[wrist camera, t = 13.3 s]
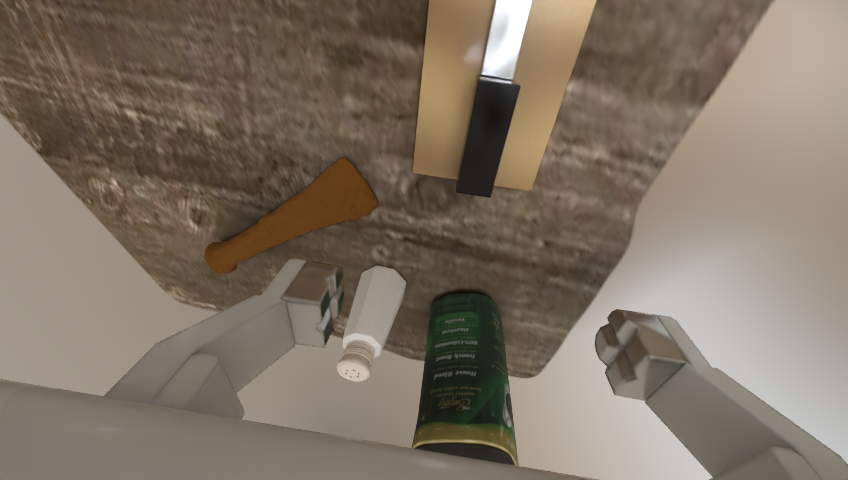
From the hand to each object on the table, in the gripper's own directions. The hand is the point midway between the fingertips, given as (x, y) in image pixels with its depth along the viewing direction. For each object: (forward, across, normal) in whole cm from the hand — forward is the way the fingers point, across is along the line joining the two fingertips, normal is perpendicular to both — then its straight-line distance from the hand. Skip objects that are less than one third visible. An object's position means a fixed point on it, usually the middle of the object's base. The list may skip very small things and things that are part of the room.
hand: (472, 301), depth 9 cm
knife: (+17, -1, -6) cm, 18 cm away
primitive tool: (+18, +16, +10) cm, 26 cm away
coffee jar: (+18, -4, +20) cm, 27 cm away
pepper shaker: (+18, +6, +17) cm, 25 cm away
